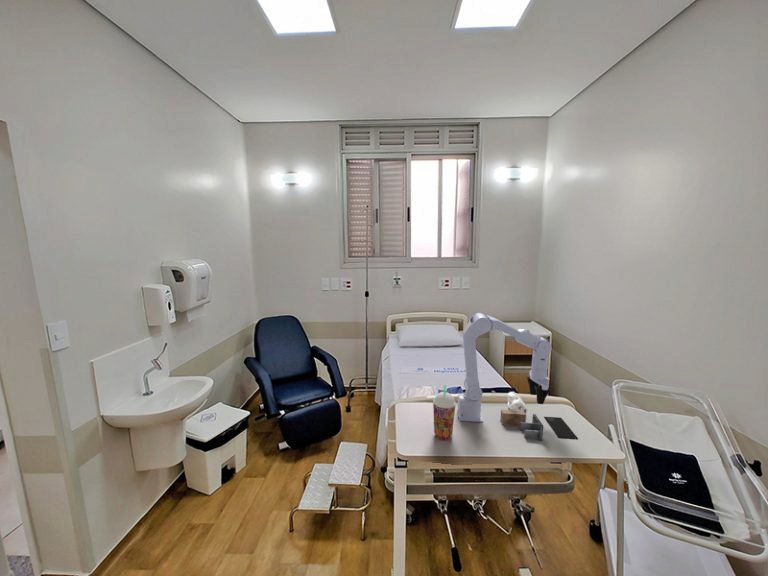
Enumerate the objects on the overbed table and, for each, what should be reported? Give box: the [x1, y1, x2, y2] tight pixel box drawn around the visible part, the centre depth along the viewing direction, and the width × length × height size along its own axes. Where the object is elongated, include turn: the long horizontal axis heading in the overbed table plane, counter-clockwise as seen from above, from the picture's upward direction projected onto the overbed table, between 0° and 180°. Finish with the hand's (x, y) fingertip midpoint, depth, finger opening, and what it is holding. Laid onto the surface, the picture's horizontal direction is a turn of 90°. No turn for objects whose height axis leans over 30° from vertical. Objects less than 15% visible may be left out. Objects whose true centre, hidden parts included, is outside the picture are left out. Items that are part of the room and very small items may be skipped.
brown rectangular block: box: [499, 408, 527, 427], centre depth 129 cm, size 9×3×5 cm, turn 84°
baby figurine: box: [506, 391, 526, 412], centre depth 141 cm, size 9×12×8 cm
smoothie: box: [432, 385, 457, 441], centre depth 119 cm, size 8×8×20 cm
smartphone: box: [543, 416, 579, 440], centre depth 126 cm, size 7×1×15 cm
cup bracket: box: [519, 413, 544, 442], centre depth 121 cm, size 6×8×6 cm
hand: (536, 398), depth 129 cm, fingers open, 7 cm apart
